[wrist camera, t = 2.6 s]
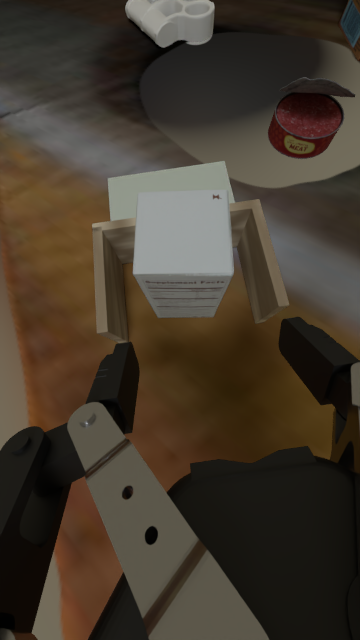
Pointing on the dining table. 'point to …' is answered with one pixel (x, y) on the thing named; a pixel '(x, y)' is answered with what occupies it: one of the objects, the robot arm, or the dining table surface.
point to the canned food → (307, 117)
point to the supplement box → (183, 251)
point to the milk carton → (352, 26)
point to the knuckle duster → (173, 20)
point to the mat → (164, 185)
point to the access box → (247, 235)
